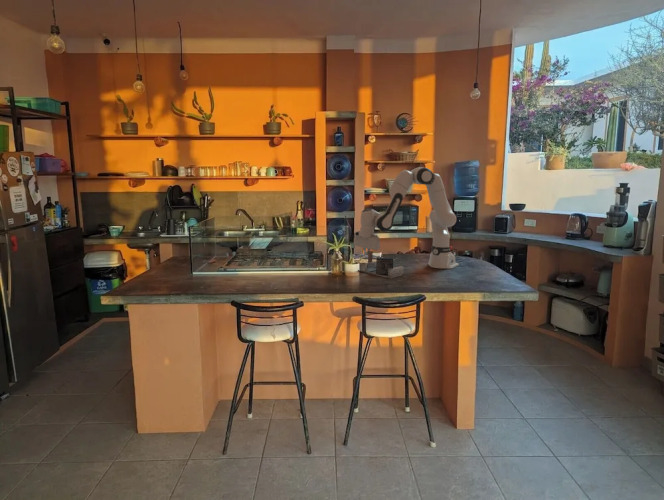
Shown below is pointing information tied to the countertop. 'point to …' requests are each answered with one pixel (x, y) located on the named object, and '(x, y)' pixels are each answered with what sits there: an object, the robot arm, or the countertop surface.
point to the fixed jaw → (389, 272)
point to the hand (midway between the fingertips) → (366, 254)
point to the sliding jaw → (370, 263)
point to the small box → (383, 265)
